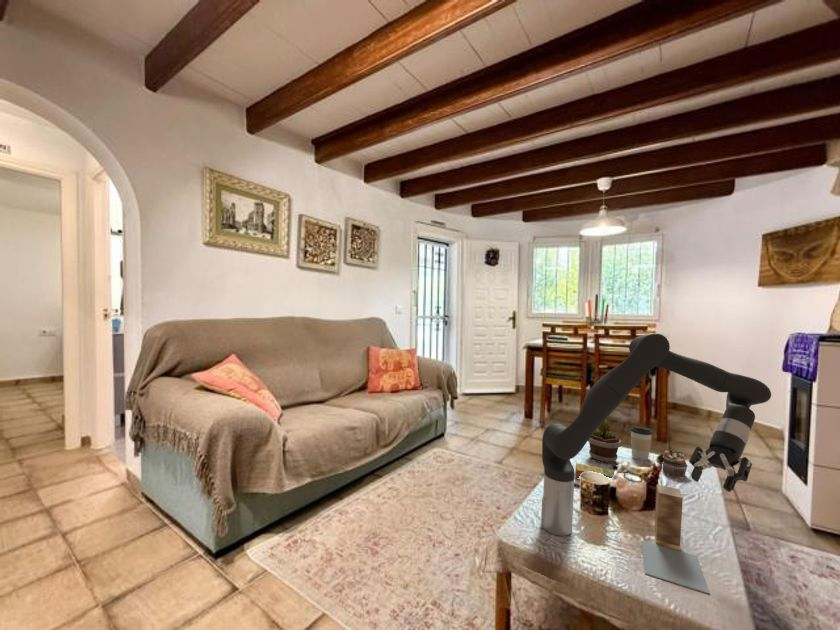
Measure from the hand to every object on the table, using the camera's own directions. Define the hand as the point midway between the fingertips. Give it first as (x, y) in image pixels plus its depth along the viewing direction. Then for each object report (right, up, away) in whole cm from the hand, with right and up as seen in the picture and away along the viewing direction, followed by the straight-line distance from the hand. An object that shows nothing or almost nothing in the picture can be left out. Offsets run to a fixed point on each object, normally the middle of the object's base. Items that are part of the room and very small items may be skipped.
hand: (709, 484), depth 105 cm
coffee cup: (+24, -21, +74) cm, 81 cm away
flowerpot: (+4, -20, +70) cm, 73 cm away
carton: (-9, -21, +50) cm, 55 cm away
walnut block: (-6, -22, +9) cm, 24 cm away
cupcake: (+29, -22, +57) cm, 67 cm away
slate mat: (-12, -22, -2) cm, 25 cm away
